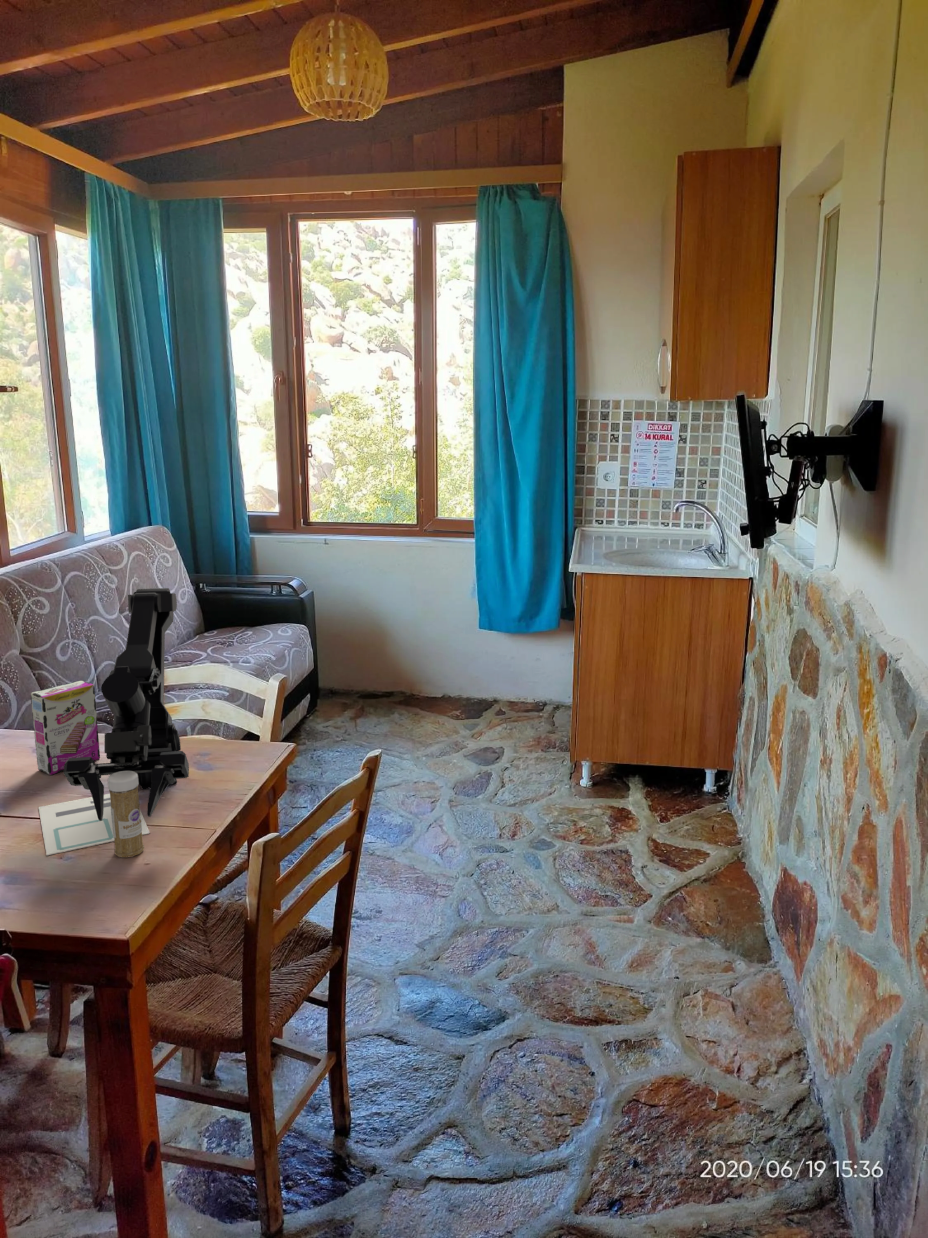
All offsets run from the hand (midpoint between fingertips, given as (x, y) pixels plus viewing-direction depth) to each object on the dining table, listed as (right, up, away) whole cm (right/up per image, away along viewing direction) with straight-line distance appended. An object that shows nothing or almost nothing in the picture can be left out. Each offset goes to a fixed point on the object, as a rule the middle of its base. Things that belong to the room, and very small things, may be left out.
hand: (124, 818), depth 139 cm
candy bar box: (-26, +2, +38) cm, 46 cm away
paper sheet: (-11, -4, +14) cm, 18 cm away
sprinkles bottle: (0, -6, +3) cm, 7 cm away
